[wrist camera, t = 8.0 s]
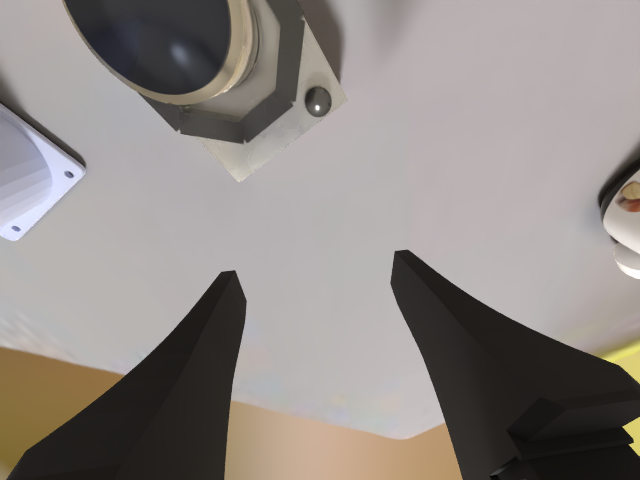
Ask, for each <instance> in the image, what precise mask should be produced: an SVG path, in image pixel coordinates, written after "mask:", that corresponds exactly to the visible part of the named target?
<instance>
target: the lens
mask: <svg viewBox="0 0 640 480" xmlns="http://www.w3.org/2000/svg"><path fill="white" fill-rule="evenodd" d="M62 2H63V4H64V7H65V9H66V11H67V13H68V15H69V17H70V19H71V21H72V23H73V25H74V27H75V28H76V30H77V32H78V33H79V35H80V36H81V38H82V40H83V41H84V42H85V44H86V45H87V46H88V48H89V49H90V50H91V52H92V53H93V54H94V55H95V56H96V58H97V59H98V60H99V61H100V62H101V63H102V64H103V65H104V66H105V67H106V68H107V69H108V70H109V71H110V72H111V73H112V74H113V75H114V76H116V77H117V78H118V79H119V80H120V81H122V82H123V83H124V84H126V85H127V86H129V87H130V88H132V89H133V90H135V91H137V92H139V93H141V94H142V95H144V96H147V97H149V98H151V99H154V100H157V101H160V102H164V103H169V104H175V105H187V104H195V103H198V102H202V101H205V100H207V99H209V98H212V97H214V96H217V95H219V94H221V93H224V92H226V91H228V90H231V89H233V88H236V87H238V86H240V85H242V84H243V83H245V82H246V81H247V80H248V79H249V78H250V77H251V76H252V75H253V74H254V72H255V70H256V68H257V66H258V64H259V61H260V57H261V53H262V30H261V25H260V21H259V17H258V14H257V12H256V9H255V7H254V5H253V3H252V1H251V0H62Z"/></svg>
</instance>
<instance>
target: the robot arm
mask: <svg viewBox="0 0 640 480" xmlns="http://www.w3.org/2000/svg"><path fill="white" fill-rule="evenodd" d="M69 171H70V172H71V173H72V174H73V175H74V176H72V175H71V174H70V173H69ZM85 173H86V170H85V168H84V166H83V165H81V164H80V163H79V162H78V161H76V160H75V159H74V158H72V157H71V156H70V155H68V154H67V153H66V152H64V151H63V150H62V149H60V148H59V147H58V146H56V145H55V144H54V143H52V142H51V141H50V140H48V139H47V138H46V137H44V136H43V135H42V134H40V133H39V132H38V131H36V130H35V129H34V128H33V127H31V126H30V125H29V124H27V123H26V122H25V121H23V120H22V119H21V118H19V117H18V116H17V115H15V114H14V113H13V112H11V111H10V110H9V109H7V108H6V107H5V106H3V105H2V104H1V103H0V236H2V237H4V238H6V239H9V240H13V241H14V240H18V239H19V238H21V237H22V236H23V235H24V234H25V233H26V232H27V231H28V230H29V229H30V228H31V227H32V226H33V225H34V224H35V223H36V222H37V221H38V220H39V219H40V218H41V217H42V216H43V215H44V214H45V213H46V212H47V211H48V210H49V209H50V208H51V207H52V206H53V205H54V204H55V203H56V202H57V201H58V200H59V199H60V198H61V197H62V196H63V195H64V194H65V193H66V192H67V191H68V190H70V189H71V188H72V187H73V186H74V185H75V184H76V183H77V182H78V181H79V180H80V179H81V178H82V177H83V176H84V175H85ZM391 286H392V290H393V293H394V296H395V298H396V301H397V304H398V306H399V308H400V310H401V312H402V314H403V317H404V319H405V321H406V323H407V325H408V327H409V329H410V331H411V333H412V335H413V337H414V339H415V341H416V343H417V345H418V347H419V350H420V352H421V354H422V356H423V359H424V362H425V364H426V367H427V370H428V372H429V375H430V378H431V381H432V383H433V386H434V389H435V392H436V395H437V398H438V401H439V403H440V406H441V409H442V413H443V416H444V419H445V422H446V425H447V428H448V431H449V434H450V437H451V441H452V444H453V447H454V451H455V454H456V457H457V461H458V464H459V468H460V471H461V475H462V478H463V480H640V456H638V455H637V454H636V453H635V451H634V450H633V449H632V448H631V447H630V446H629V445H628V444H631V443H634V441H633V438H632V437H631V436H630V435H629V434H628V433H627V432H626V431H625V430H624V428H623V427H622V426H624V425H626V424H628V423H629V422H631V421H633V420H635V419H636V418H638V417H640V384H639V383H638V382H637V381H635V379H634V378H632V377H631V376H630V375H629V374H628V373H627V372H626V371H625V370H624V369H623V368H621V367H620V366H619V365H616V364H614V363H611V362H609V361H606V360H603V359H601V358H598V357H596V356H593V355H591V354H588V353H585V352H583V351H580V350H578V349H575V348H573V347H570V346H568V345H566V344H563V343H561V342H559V341H556V340H554V339H552V338H550V337H547V336H545V335H543V334H541V333H539V332H537V331H534V330H532V329H530V328H528V327H526V326H524V325H522V324H520V323H518V322H516V321H514V320H512V319H510V318H508V317H506V316H505V315H503V314H501V313H499V312H497V311H495V310H494V309H492V308H490V307H489V306H487V305H485V304H483V303H482V302H480V301H478V300H477V299H475V298H473V297H472V296H470V295H469V294H467V293H466V292H464V291H463V290H461V289H460V288H458V287H457V286H455V285H454V284H453V283H451V282H450V281H448V280H447V279H446V278H444V277H443V276H441V275H440V274H439V273H437V272H436V271H435V270H434V269H432V268H431V267H430V266H428V265H427V264H426V263H425V262H423V261H422V260H421V259H419V258H418V257H417V256H416V255H414V254H413V253H412V252H410V251H409V250H401V251H395V254H394V261H393V268H392V276H391ZM246 302H247V301H246V298H245V296H244V293H243V290H242V287H241V285H240V282H239V279H238V277H237V274H236V271H235V270H233V271H225V272H221V273H220V274H219V275H218V277H217V278H216V279H215V280H214V282H213V283H212V284H211V286H210V287H209V288H208V289H207V291H206V292H205V293H204V294H203V296H202V297H201V298H200V300H199V301H198V302H197V303H196V304H195V306H194V307H193V308H192V309H191V311H190V312H189V313H188V314H187V315H186V316H185V318H184V319H183V320H182V321H181V322H180V323H179V324H178V325H177V327H176V328H175V329H174V330H173V331H172V332H171V333H170V334H169V335H168V336H167V337H166V338H165V339H164V340H163V341H162V342H161V343H160V344H159V345H158V346H157V347H156V348H155V349H154V350H153V351H152V352H151V353H150V354H149V355H148V356H147V357H146V358H145V359H144V360H143V361H141V362H140V363H139V364H138V365H137V366H136V367H135V368H133V369H132V370H131V371H130V372H129V373H128V374H127V375H126V376H124V377H123V378H122V379H121V380H120V381H119V382H117V383H116V384H115V385H114V386H113V387H111V388H110V389H109V390H108V391H106V392H105V393H104V394H103V395H102V396H100V397H99V398H98V399H96V400H95V401H94V402H93V403H91V404H90V405H89V406H87V407H86V408H85V409H84V410H82V411H81V412H80V413H78V414H77V415H76V416H75V417H73V418H72V419H70V420H69V421H68V422H66V423H65V424H63V425H62V426H60V427H59V428H58V429H56V430H55V431H54V432H52V433H51V434H49V436H47V437H45V438H44V439H42V440H41V441H40V442H38V443H37V444H35V445H34V446H32V447H31V448H30V449H28V450H27V451H26V452H25V453H24V455H23V456H22V457H21V459H20V460H19V462H18V463H17V465H16V466H15V468H14V469H13V471H12V472H11V474H10V475H9V476H8V478H7V479H6V480H224V472H225V457H226V443H227V432H228V420H229V410H230V401H231V392H232V384H233V378H234V372H235V367H236V362H237V358H238V353H239V348H240V344H241V339H242V334H243V329H244V324H245V316H246Z"/></svg>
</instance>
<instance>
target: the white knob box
mask: <svg viewBox="0 0 640 480" xmlns="http://www.w3.org/2000/svg"><path fill="white" fill-rule="evenodd" d="M251 1H252V3H253V5H254V7H255V9H256V12H257V14H258V17H259V21H260V25H261V30H262V53H261V57H260V61H259V64H258V66H257V68H256V70H255V72H254V74H253V75H252V76H251V77H250V78H249V79H248V80H247V81H246V82H245V83H243V84H242V85H240V86H238V87H236V88H233V89H231V90H228V91H226V92H224V93H221V94H219V95H217V96H214V97H212V98H209V99H207V100H205V101H202V102H198V103H195V104H187V105H175V104H169V103H164V102H160V101H157V100H154V99H151V98H149V97H147V96H144V95H142V94H141V93H139V92H138V93H139V94H140V95H141V96H142V97H143V98H144V99H145V100H146V101H147V102H148V103H149V104H150V105H151V106H152V107H153V108H154V109H155V110H156V111H157V112H158V113H159V114H160V115H161V116H162V117H163V119H164V120H165V121H166V122H167V123H168V124H169V125H170V126H171V127H172V128H173V129H174V130H175V131H178V130H180V131H181V134H184V135H190V136H195V137H196V138H197V139H198V140H199V141H200V142H201V143H202V144H203V145H204V147H205V148H206V149H207V150H208V151H209V152H210V153H211V154H212V155H213V156H214V157H215V158H216V159H217V160H218V161H219V162H220V163H221V164H222V165H223V166H224V167H225V169H226V170H227V171H228V172H229V173H230V174H231V175H232V176H233V177H234V178H235V179H236V180H237V181H238V182H239V183H240V182H241V181H242V180H244V179H245V178H246V177H247V176H249V175H250V174H251V173H253V172H254V171H255V170H257V169H258V168H259V167H261V166H262V165H263V164H265V163H266V162H267V161H268V160H270V159H271V158H272V157H274V156H275V155H276V154H278V153H279V152H280V151H282V150H283V149H284V148H286V147H287V146H288V145H289V144H291V143H292V142H293V141H295V140H296V139H297V138H299V137H300V136H301V135H303V134H304V133H305V132H307V131H308V130H309V129H310V128H312V127H313V126H314V125H316V124H317V123H318V122H320V121H321V120H322V119H324V118H325V117H326V116H328V115H329V114H330V113H331V112H333V111H334V110H335V109H337V108H338V107H339V106H341V105H342V104H343V103H345V102H346V101H347V100H348V99H347V97H346V96H345V94H344V92H343V90H342V88H341V86H340V84H339V82H338V80H337V79H336V77H335V75H334V73H333V71H332V69H331V67H330V65H329V63H328V62H327V60H326V58H325V56H324V54H323V52H322V50H321V48H320V46H319V45H318V43H317V41H316V39H315V37H314V35H313V33H312V31H311V29H310V28H309V26H308V24H307V22H306V20H305V18H304V13H303V11H302V9H301V7H300V5H299V3H298V1H297V0H251Z"/></svg>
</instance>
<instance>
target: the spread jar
mask: <svg viewBox="0 0 640 480" xmlns="http://www.w3.org/2000/svg"><path fill="white" fill-rule="evenodd" d="M600 217H601V222H602V224H603V226H604V228H605V229H606V231H607V232H608V233H609V234H610V235H611V236H612V237H613V238H615V239H616V240H617V241H619V243H618V244H617V245H616V246H615V248H614V250H613V255H614V258H615V260H616V262H617V264H618V266H619V268H620V269H621V270H622V271H623V272H625V273H626V274H628V275H630V276H632V277H634V278H637V279H640V159H639V160H637V161H636V162H635V163H633V164H632V165H631V166H629V167H628V168H627V169H626V170H625V171H623V172H622V173H621V174H620V175H619V176H618V177H617V178H616V180H615V181H614V182H613V183H612V184H611V186H610V187H609V189H608V190H607V192H606V194H605V196H604V199H603V201H602V204H601V209H600Z"/></svg>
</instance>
